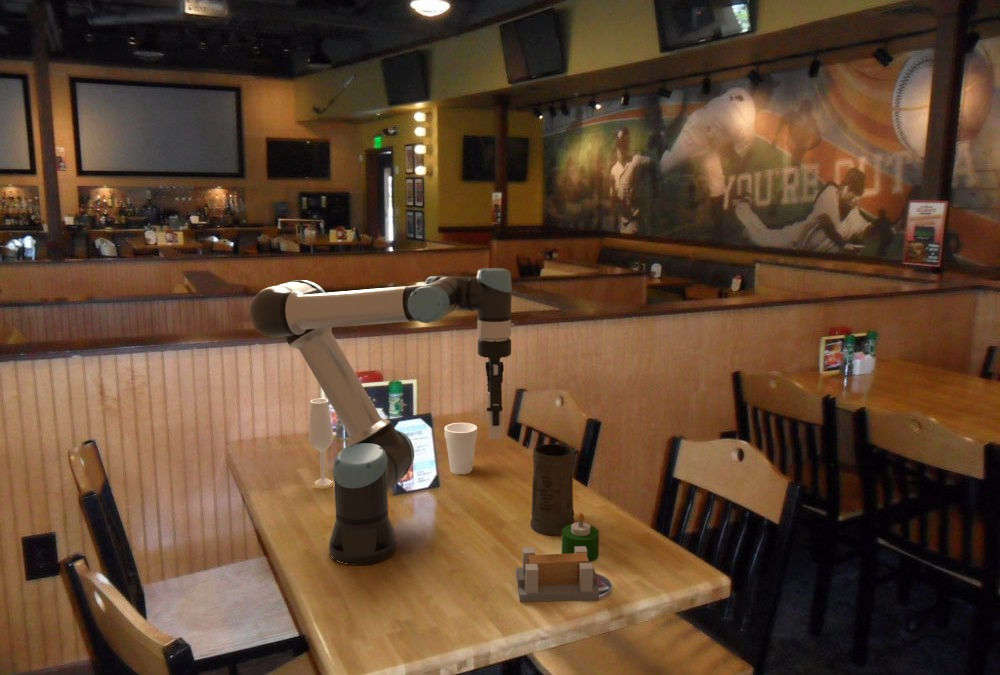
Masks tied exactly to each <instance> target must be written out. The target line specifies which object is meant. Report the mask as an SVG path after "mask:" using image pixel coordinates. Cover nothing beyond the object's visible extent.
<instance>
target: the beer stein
mask: <svg viewBox="0 0 1000 675" xmlns="http://www.w3.org/2000/svg"><path fill="white" fill-rule="evenodd" d="M575 456H576V455H575V451H574V448H572V447H571V446H568V445H566V444H559V443H546V444H545V443H544V444H540V445H538V446H535V448H534V449H533V452H532V460H533V474H532V475H533V476H532V486H531V489H532V493H531V494H532V497H531V498H532V499H531V501H532V502H531V519H530V527H531V528H532V530H534V531H535V532H537V533H539V534H543V535H546V534H548V536H560V535H561V536H562V529H563V528H564V527H565V526H567V525H571V524H573V523H575V519H574V517H575V511H574V500H573V498H574V497H573V496H574V495H573V493H574V492H573V491H574V490H573V486H574V485H573V484H574V483H573V482H574V481H573V477H574V470H573V469H574V461H575V458H576V457H575Z"/></svg>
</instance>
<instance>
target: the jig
mask: <svg viewBox="0 0 1000 675" xmlns="http://www.w3.org/2000/svg"><path fill="white" fill-rule="evenodd" d="M574 553H586V555H587V549H586V546H577V547H574ZM528 555H536V550H535V547H533V546H532V547H528V546H527V547H524V546H523V547H522V566H521V567H516V568H515V576H516V585H517V592H518V599H519V602H520V603H524V602H526V603H527V602H528V603H529V602H530V603H531V602H572V601H574V600H575V601H576V600H578V601H579V600H581V601H600V591H599V587H598V575H597V574H596V570H595V568H594V566H593V564H592V562H589V563H579V584H564V585H545V586H538V566H537V564H528Z"/></svg>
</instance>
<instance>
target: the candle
mask: <svg viewBox="0 0 1000 675" xmlns="http://www.w3.org/2000/svg"><path fill="white" fill-rule="evenodd" d="M584 521H585V515H584V514H583V513H582V512H579V514H578V516H577V522H574V523H573V524H571V525H567V526H565V527H564V528H563V529H562V534H561V554H568V553H574V547H577V546H586V549H587V557H588V560H589V563H592V562H595V561H596V560H597V559H599V554H600V553H599V551H600V547H599V546H600V531H599V529H598V528H597V527H595V526H593V525H590V524H589V523H587V522H584Z"/></svg>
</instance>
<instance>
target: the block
mask: <svg viewBox="0 0 1000 675" xmlns="http://www.w3.org/2000/svg"><path fill="white" fill-rule="evenodd" d="M579 563H590V562H589V560H588V557H587V555H586V553H568V554H562V553H553V554H552V553H551V554H535V555H528V564H537V566H538V586H545V585H564V584H579Z"/></svg>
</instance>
